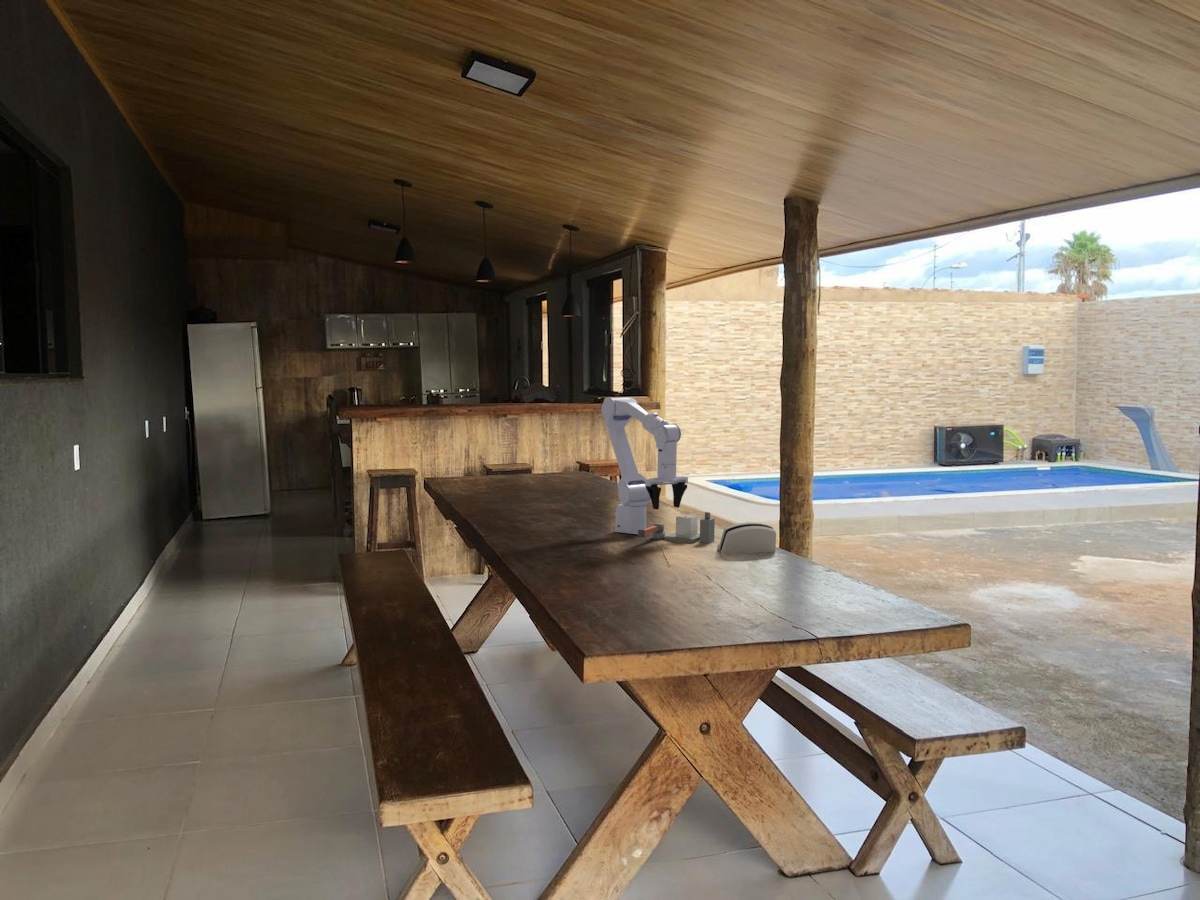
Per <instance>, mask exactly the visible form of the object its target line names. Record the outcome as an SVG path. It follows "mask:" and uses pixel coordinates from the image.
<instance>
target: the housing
mask: <svg viewBox="0 0 1200 900" xmlns="http://www.w3.org/2000/svg"><path fill="white" fill-rule="evenodd" d="M698 518H699V517H698V515H695V514H685V513H683V514H679V515H676V516H675V533H676V536H680V537H689V538H691V537H694V536H696V535H697V534H698V530H699V529H698V527H699V525H698V521H699V520H698Z"/></svg>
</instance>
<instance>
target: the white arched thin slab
mask: <svg viewBox="0 0 1200 900" xmlns="http://www.w3.org/2000/svg"><path fill="white" fill-rule="evenodd" d="M776 542H777V532H776V530H775V529H774V527H773V526H772V525H770V524H767V523H762V522H757V521H756V522H755V521H754V522H753V521H751V522H749V521H747V522H740V523H735V524H732V525H729V526H726V527H724V529H723V532H722V535H721V538H720V541H719V544H718V545H717V547H716V552H720V554H721V555H738V554H739V553H743V554H755V553H756V554H758V553H759V552H762V553H775V552H776V544H777V543H776ZM739 555H740V554H739Z"/></svg>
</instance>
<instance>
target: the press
mask: <svg viewBox="0 0 1200 900" xmlns="http://www.w3.org/2000/svg"><path fill="white" fill-rule="evenodd" d="M715 519H716V518H714V517H713V518H712V517H711V512H710V511H705V512H704V517H702V518H701V519H699V533H697V535H696V536H694V537H691V538H689V537H680V536H676V532H675V533H672V534H669V535H666V532H665V530H664V531H663V532H653V533H651V538H652V539H653V540H666V541H669V540H671V542H677V541H678V543H679V542H680V543H687V544H696V543H697V541H698V542H699V543H701V542H706V543H705V544H711V543H713V542H715V524H716V523H715ZM699 540H700V541H699ZM712 541H713V542H712ZM710 542H711V543H710Z"/></svg>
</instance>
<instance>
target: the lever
mask: <svg viewBox="0 0 1200 900" xmlns="http://www.w3.org/2000/svg"><path fill="white" fill-rule="evenodd" d="M664 529H665V523H664V522H655V523H653V525H652V526H649V527H646V529H639V530H638V534H637V537H638V538H645V537H646V535H650V534H652V533H653V532H663V531H665V530H664Z"/></svg>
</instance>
